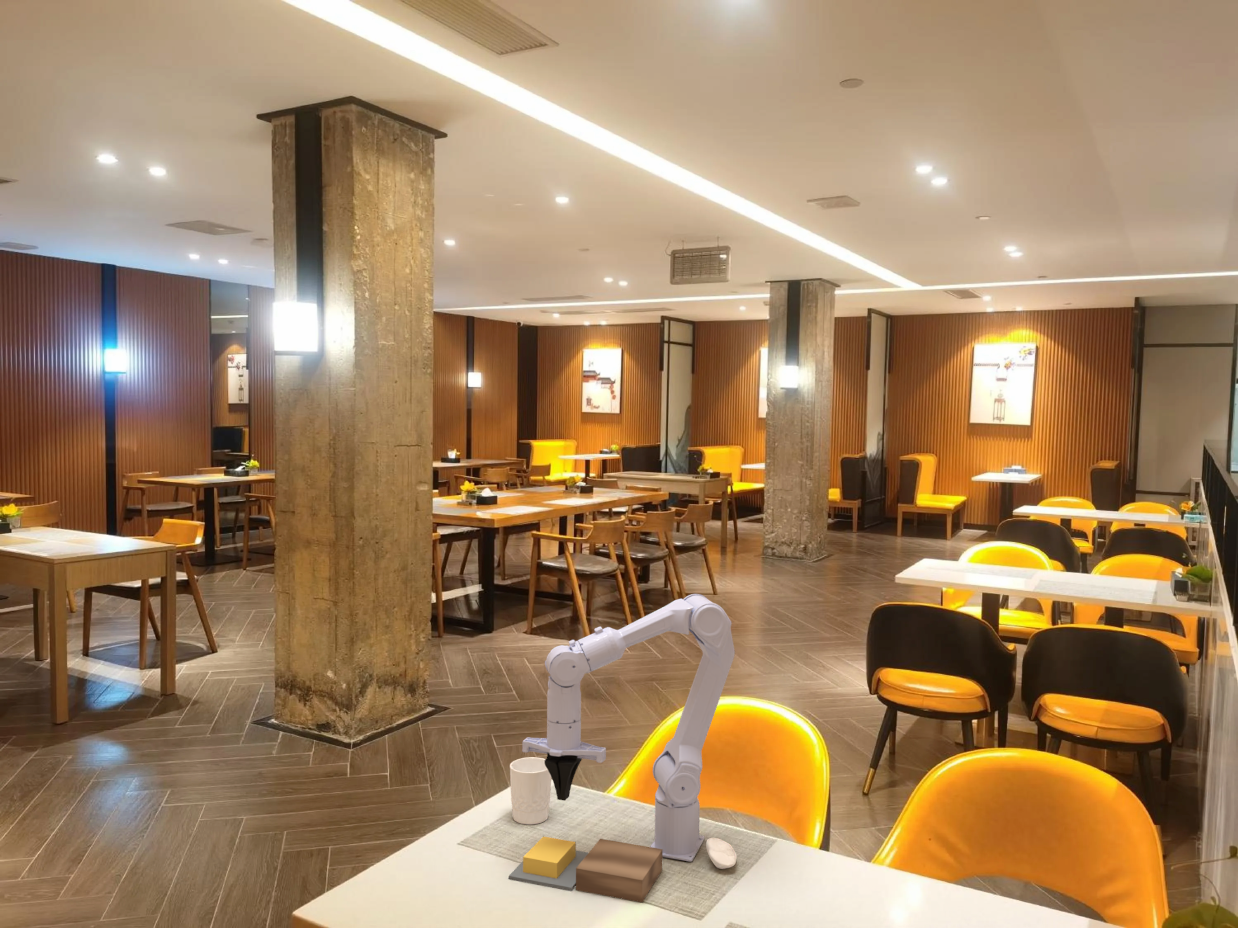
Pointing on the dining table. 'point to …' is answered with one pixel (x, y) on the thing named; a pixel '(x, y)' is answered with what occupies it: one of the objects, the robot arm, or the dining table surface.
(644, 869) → the brown cuboid
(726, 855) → the dumpling
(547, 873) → the yellow cuboid
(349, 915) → the dining table surface
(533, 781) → the white cup
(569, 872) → the mat
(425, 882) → the dining table surface
